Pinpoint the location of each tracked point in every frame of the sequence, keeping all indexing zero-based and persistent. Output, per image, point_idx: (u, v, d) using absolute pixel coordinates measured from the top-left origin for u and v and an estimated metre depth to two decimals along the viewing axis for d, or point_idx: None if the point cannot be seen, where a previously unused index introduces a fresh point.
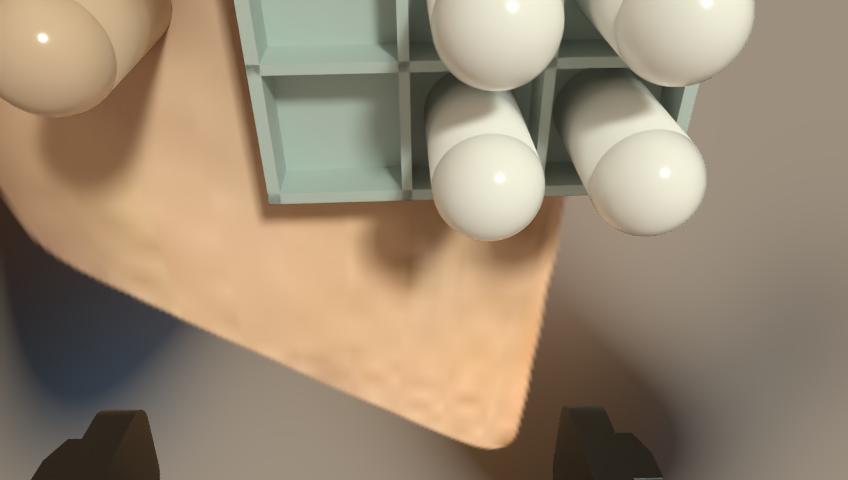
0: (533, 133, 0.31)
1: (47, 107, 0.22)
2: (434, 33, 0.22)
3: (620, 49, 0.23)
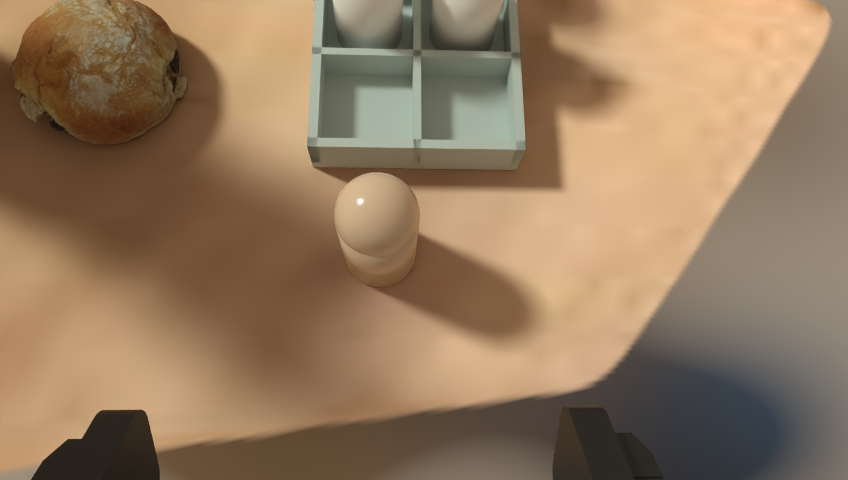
0: None
1: (402, 198, 0.33)
2: None
3: None
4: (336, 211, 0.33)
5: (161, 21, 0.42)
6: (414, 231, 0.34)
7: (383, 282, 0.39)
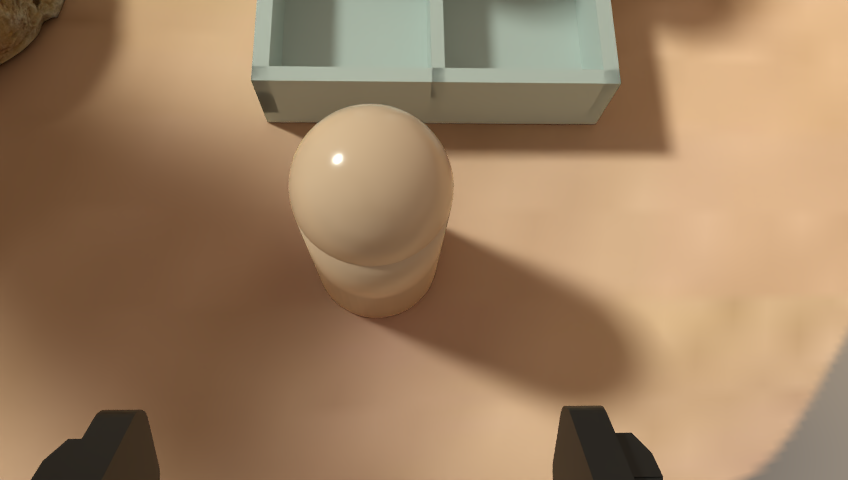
0: None
1: (421, 150, 0.16)
2: None
3: None
4: (291, 178, 0.17)
5: None
6: (444, 217, 0.17)
7: (383, 310, 0.23)
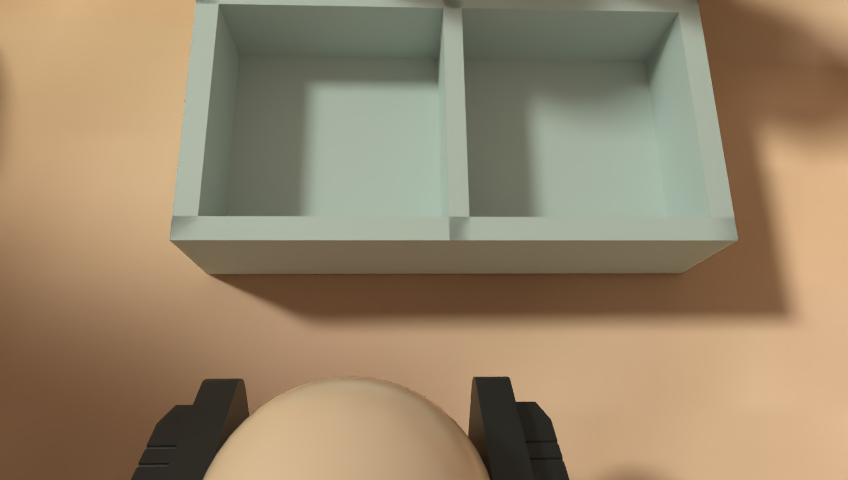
0: None
1: None
2: None
3: None
4: None
5: None
6: None
7: None
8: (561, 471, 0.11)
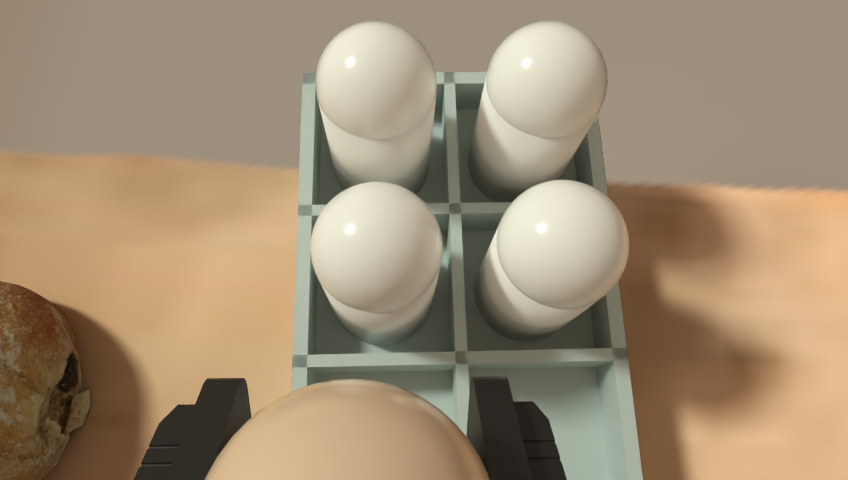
0: None
1: None
2: (380, 306, 0.21)
3: (401, 130, 0.24)
4: None
5: (40, 322, 0.26)
6: None
7: None
8: (559, 470, 0.11)
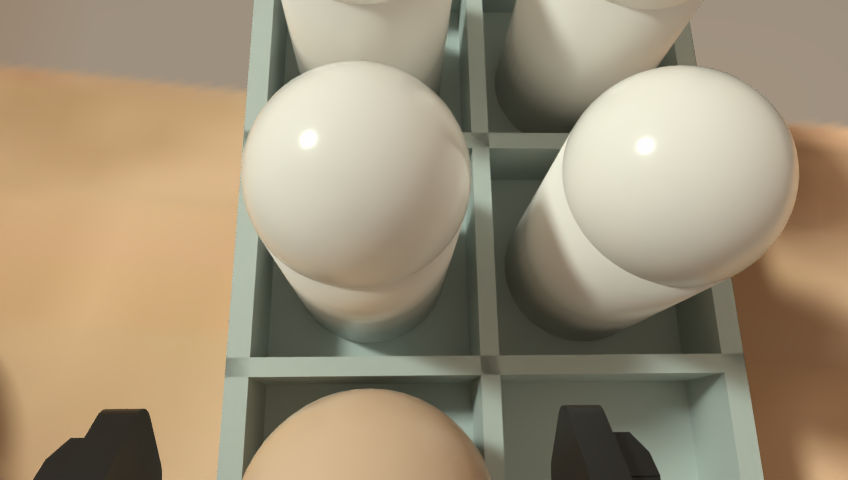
0: None
1: None
2: (361, 276, 0.12)
3: None
4: None
5: None
6: None
7: None
8: None
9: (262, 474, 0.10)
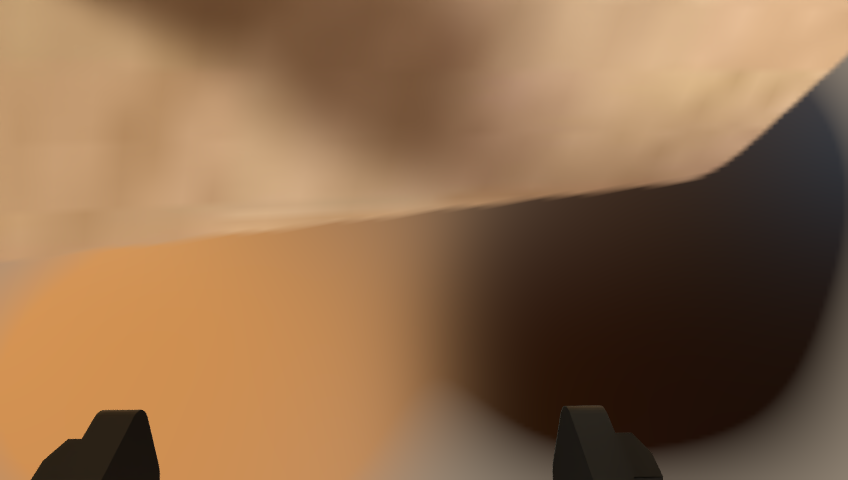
0: None
1: None
2: None
3: None
4: None
5: None
6: None
7: None
8: None
9: None
